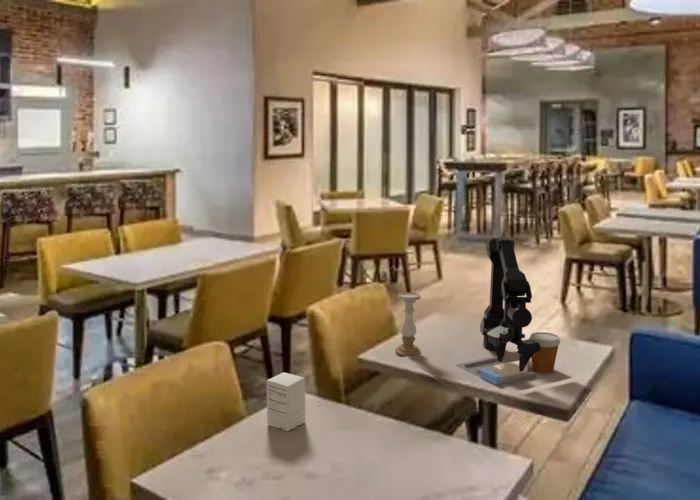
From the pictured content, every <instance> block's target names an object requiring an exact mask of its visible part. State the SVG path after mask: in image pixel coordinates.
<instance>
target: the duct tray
mask: <svg viewBox="0 0 700 500" xmlns="http://www.w3.org/2000/svg"><path fill="white" fill-rule="evenodd" d="M510 362H511V361H507V362H506V361H504V360H503V361H502V362H499V361H498V357H497V355H496V356H490V357H486V358H480V359H476V360H470V361H467V362H466V361H465V362H461V363H457V364H455V366H456V367H458V368H459V369H463V370H464V371H466V372H469V373H470V374H472V375H474V376H477V377H478V378H480V379H482V380H484V381H486V382H488V383H491V384H493V385H495V386H496V387H499V388H501V389H503V388H506V387H511V386H515V385H519V384H522V383H526V382H531V381H535V380H540V379H541V377H540V376H537V375H536V372H535V371H529V372H528V371H527V373H524V374H520V375H515V376H511V377H507V378H502V379H501V376H500V375H498V374H496V373H493V366H496V365H501V364H505V363H510Z"/></svg>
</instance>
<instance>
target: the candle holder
mask: <svg viewBox="0 0 700 500" xmlns="http://www.w3.org/2000/svg"><path fill="white" fill-rule="evenodd" d="M421 297H422V296H421V294H420V293H416V292H407V291H406V292H401V293H399V294H398V296H397V298H398V299H399V300H402V302H403V304H404V308H403V312H404V320H403V322H402V324H401V327H400V333H401V335H402V336H401V337H400V338H401V341H402V344H400V345H398V346H397V347H395V349H394V353H395V354H396V355H397V356H400V357H410V356H416V355H421V353H422V350H421V348H419V346H417V345H416V344H414V342H415V340H416V337H415V335H416V334H417V331H418V330H417V326H416V325H415V322H414V312H415V311H416V310H415V308H414V304H415V303H416V301H418V300H421Z"/></svg>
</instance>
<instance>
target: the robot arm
mask: <svg viewBox="0 0 700 500" xmlns="http://www.w3.org/2000/svg"><path fill="white" fill-rule="evenodd" d="M485 250H486V251H485V252H486V253H487V258H488V259H489V260H490V263H491V267H490V268H491V269H490V286H489V287H490V288H489V289H490V290H489V304H488V306H487V307H486V308H485V310H484V312H483V317H482V319H481V320H480V321H481V322H480V324H479V332H480V334H481V335H482V336H483V341H482V343H483V344H482V346H483V348H484V349H485V350H487V351H494V352H495V353H496V356H497V357H498V361H499V362H502V361H504V357H505V352H506V347H507V344H508V343H512V344H514V345H516V349H517V351H515V352H516V353H517V354H518V356H519V357H518V358H519V359H518V361H519V371H520V372H521V371H523V370H524V368H525V367H526V365H527V363H529V361H530V360H531V357H532V356H533V354H534V353H537V352H539V351H540V347H541V345H540V343H539V342H537V341H534V340H532V339H529V338H528V339H526V334H525V333H523V328H526V327H528V326H529V325H530V324H531V322H532V320H533V315H532V312H531V311H530V310H529V309H528V307H527V305H526V304H529V303H531V304H532V298H533V294H532V290H531V284H530V283H529V281H528V280H527V277H526V274H525V273H524V272H523V271H521V270H520V268H519V264H518V260H517V256H516V252H515V240H514V239H511V238H509V237H490V238H489V239H488V240H487V241H486V242H485ZM523 339H525V340H523Z"/></svg>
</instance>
